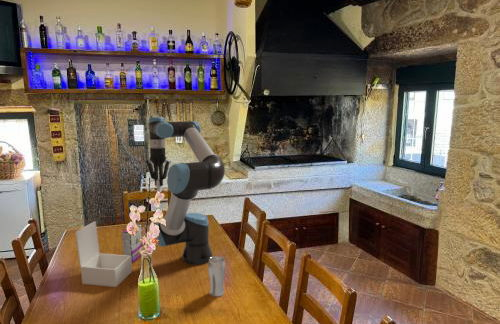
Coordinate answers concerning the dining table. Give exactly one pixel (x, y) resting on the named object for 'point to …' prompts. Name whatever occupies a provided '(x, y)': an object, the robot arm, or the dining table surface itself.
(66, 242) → the dining table surface
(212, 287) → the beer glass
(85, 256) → the mailer lid
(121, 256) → the mailer box
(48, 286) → the dining table surface
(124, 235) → the candy bar box
